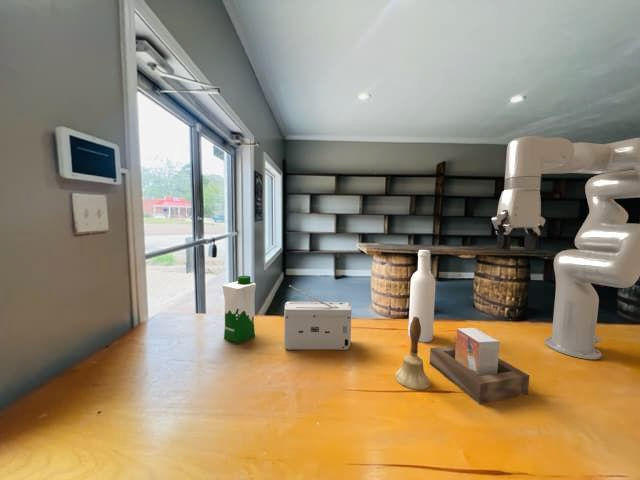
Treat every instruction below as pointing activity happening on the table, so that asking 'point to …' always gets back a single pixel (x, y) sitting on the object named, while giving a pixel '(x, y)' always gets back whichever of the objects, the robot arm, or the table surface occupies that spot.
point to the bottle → (423, 297)
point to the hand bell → (413, 363)
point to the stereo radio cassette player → (317, 325)
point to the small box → (477, 351)
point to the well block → (480, 377)
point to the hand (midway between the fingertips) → (517, 249)
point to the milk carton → (239, 309)
